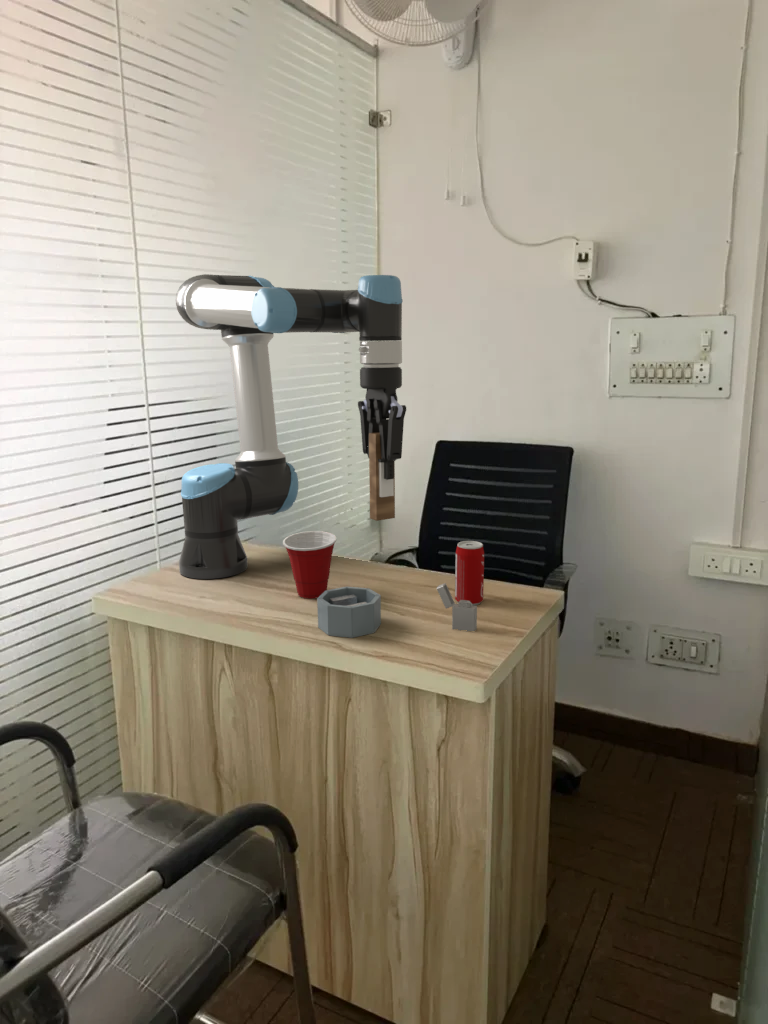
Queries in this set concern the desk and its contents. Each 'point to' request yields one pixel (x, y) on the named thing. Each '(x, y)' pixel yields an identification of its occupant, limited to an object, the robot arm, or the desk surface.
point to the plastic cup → (310, 561)
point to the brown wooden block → (378, 505)
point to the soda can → (469, 572)
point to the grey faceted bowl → (349, 613)
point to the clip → (345, 600)
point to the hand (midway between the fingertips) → (382, 494)
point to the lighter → (459, 610)
